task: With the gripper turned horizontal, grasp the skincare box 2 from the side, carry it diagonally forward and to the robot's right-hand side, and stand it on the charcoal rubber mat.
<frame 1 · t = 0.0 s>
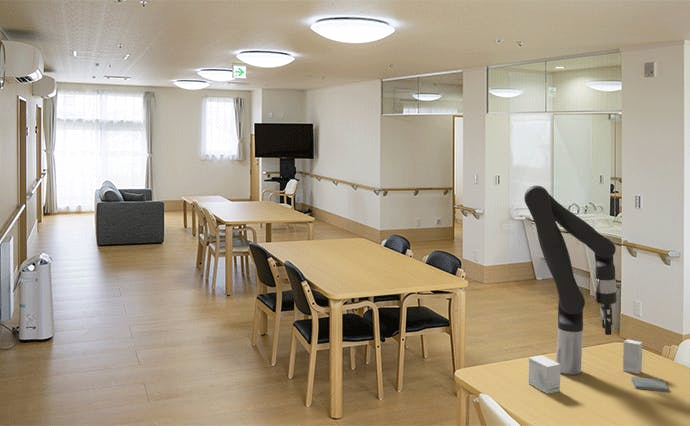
hand: (606, 331, 248), 17 cm above the table, tool pointing down, fingers open, 8 cm apart
skincare box 2: (631, 371, 253), on the table
skincare box: (543, 388, 237), on the table
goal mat: (649, 385, 239), on the table
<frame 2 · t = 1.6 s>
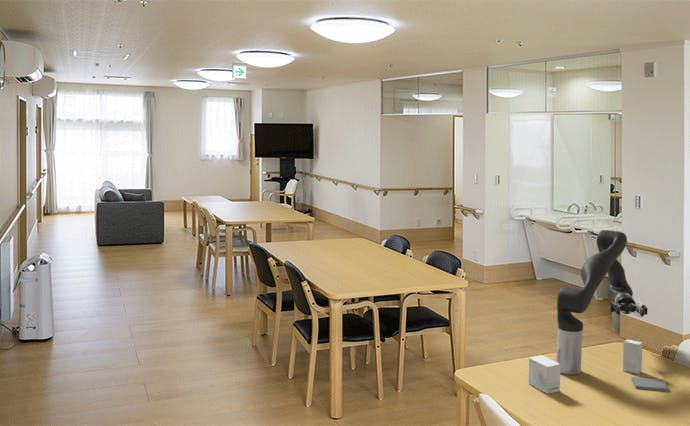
hand: (630, 313, 261), 20 cm above the table, tool horizontal, fingers open, 8 cm apart
nothing on the table moved.
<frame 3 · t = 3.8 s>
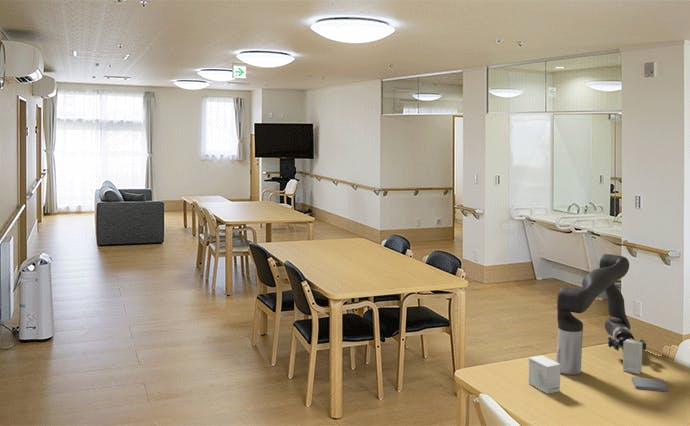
hand: (629, 349, 259), 6 cm above the table, tool horizontal, fingers open, 8 cm apart
nothing on the table moved.
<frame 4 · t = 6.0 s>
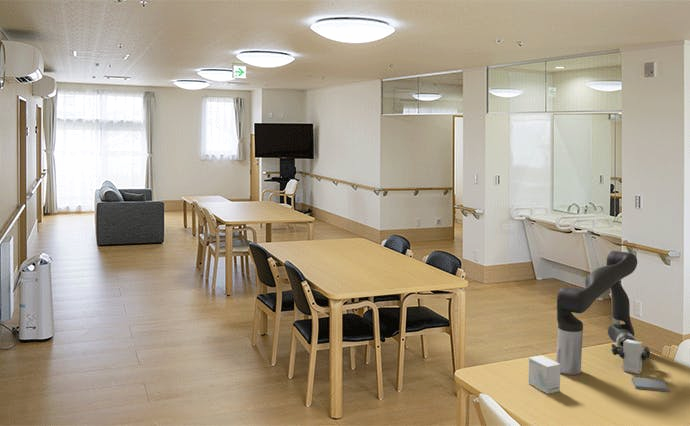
hand: (633, 357, 250), 7 cm above the table, tool horizontal, fingers closed on skincare box 2, 7 cm apart
skincare box 2: (631, 371, 253), on the table, touching gripper
everything else where it was.
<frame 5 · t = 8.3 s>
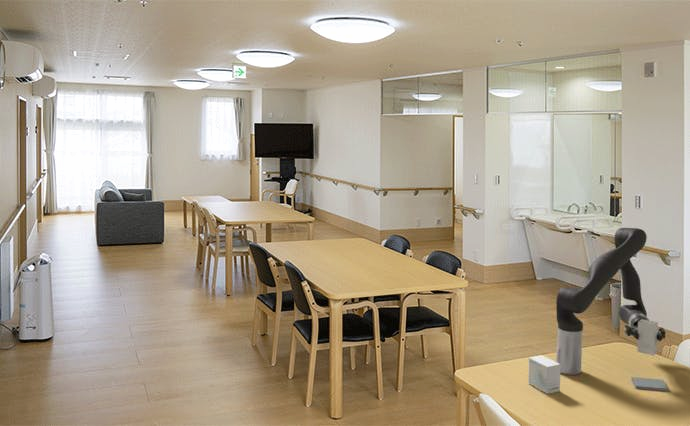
hand: (648, 337, 238), 18 cm above the table, tool horizontal, fingers closed on skincare box 2, 7 cm apart
skincare box 2: (646, 353, 241), point 11 cm above the table, touching gripper
everything else where it was.
when the fingers open (9 cm above the table, at t = 11.0 s): skincare box 2 stays where it is, resting on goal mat.
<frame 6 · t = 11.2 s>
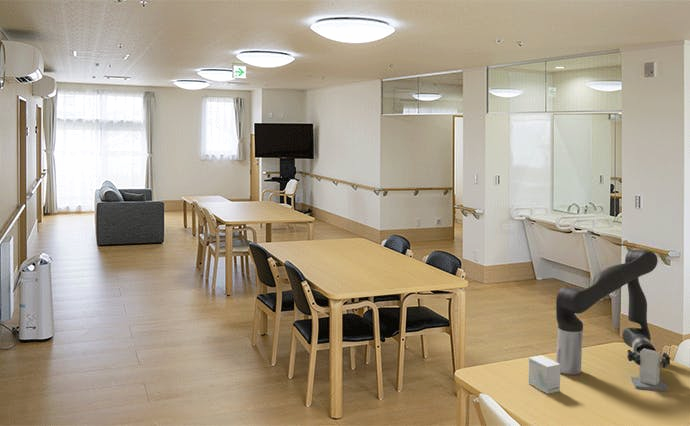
hand: (651, 363, 236), 9 cm above the table, tool horizontal, fingers open, 8 cm apart
skincare box 2: (648, 383, 239), point 1 cm above the table, touching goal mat
everything else where it was.
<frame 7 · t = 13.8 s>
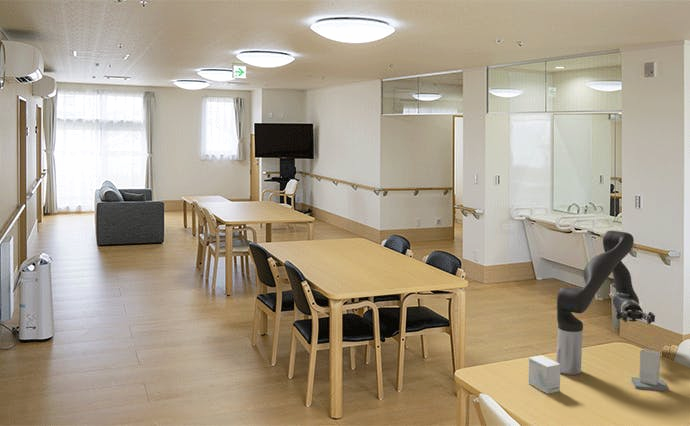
hand: (637, 320, 255), 19 cm above the table, tool horizontal, fingers open, 8 cm apart
nothing on the table moved.
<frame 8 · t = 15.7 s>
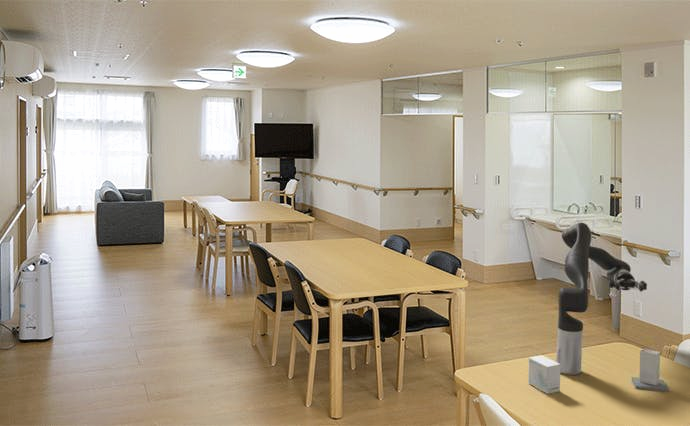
hand: (630, 288, 263), 30 cm above the table, tool horizontal, fingers open, 8 cm apart
nothing on the table moved.
at the end: skincare box 2 inside the target area on the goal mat (0.2 cm from its centre), point 0.8 cm above the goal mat's base; skincare box 2 tilted 0°; the gripper is holding nothing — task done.
